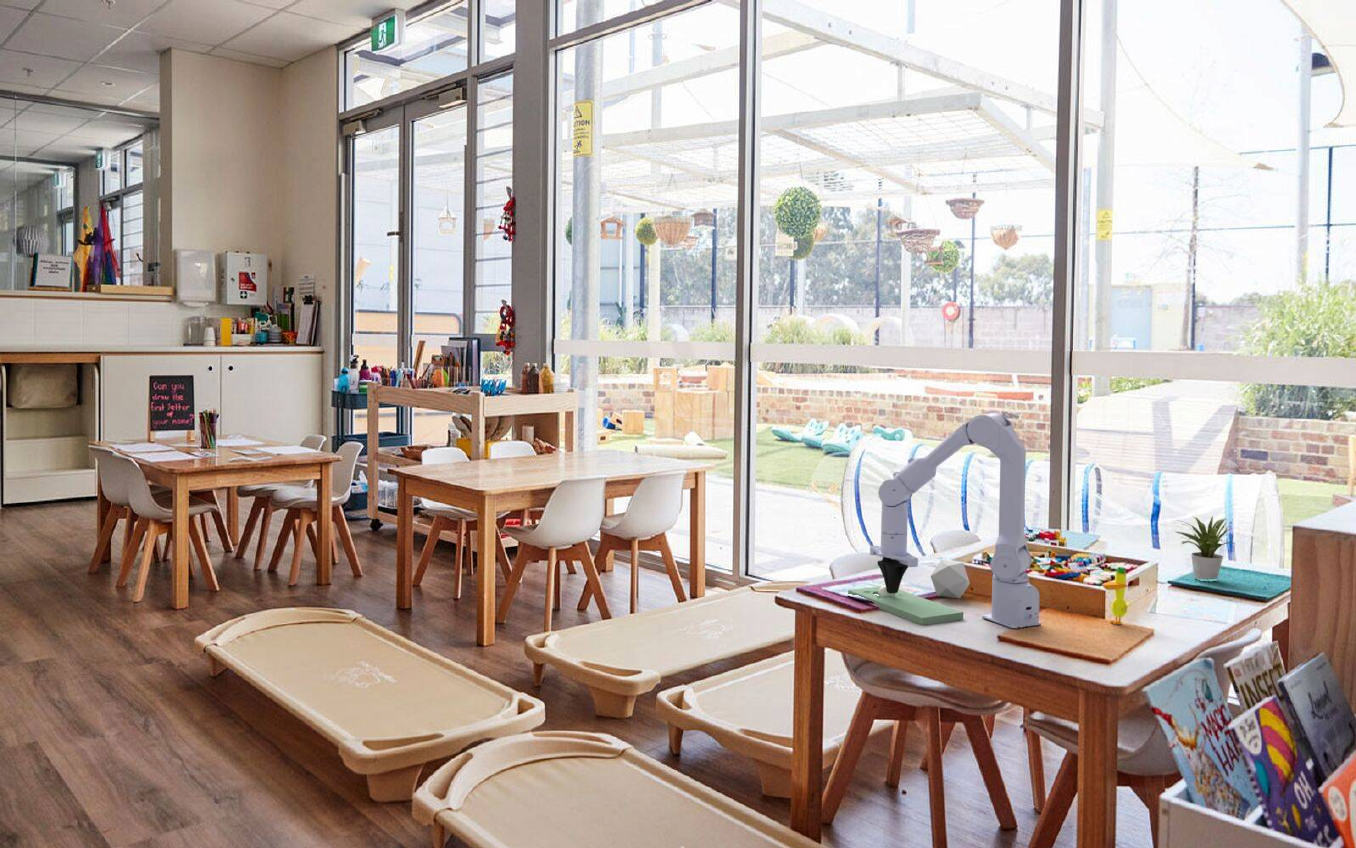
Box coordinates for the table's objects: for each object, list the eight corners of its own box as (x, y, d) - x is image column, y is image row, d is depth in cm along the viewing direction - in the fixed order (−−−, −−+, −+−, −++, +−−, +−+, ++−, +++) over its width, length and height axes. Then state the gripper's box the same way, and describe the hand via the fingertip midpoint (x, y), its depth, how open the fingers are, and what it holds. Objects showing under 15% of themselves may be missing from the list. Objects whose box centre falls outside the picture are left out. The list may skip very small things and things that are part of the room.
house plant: (1191, 570, 279) (1194, 507, 278) (1247, 580, 268) (1250, 514, 267) (1164, 577, 270) (1167, 512, 269) (1221, 588, 259) (1224, 521, 258)
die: (973, 597, 251) (954, 560, 255) (979, 586, 243) (959, 548, 247) (940, 610, 250) (922, 572, 254) (946, 600, 242) (926, 561, 246)
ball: (898, 588, 242) (888, 582, 245) (887, 589, 241) (876, 583, 243) (895, 603, 243) (885, 596, 246) (883, 604, 241) (873, 597, 244)
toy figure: (1107, 627, 224) (1109, 570, 223) (1095, 622, 227) (1098, 566, 226) (1134, 624, 226) (1137, 568, 225) (1123, 620, 229) (1125, 564, 228)
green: (963, 619, 229) (963, 612, 229) (922, 625, 224) (922, 618, 224) (886, 591, 252) (887, 585, 252) (847, 596, 247) (848, 590, 247)
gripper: (859, 528, 245) (858, 587, 246) (900, 539, 232) (898, 602, 233) (884, 526, 248) (883, 584, 249) (926, 537, 235) (924, 598, 236)
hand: (892, 592), depth 241 cm, fingers closed
